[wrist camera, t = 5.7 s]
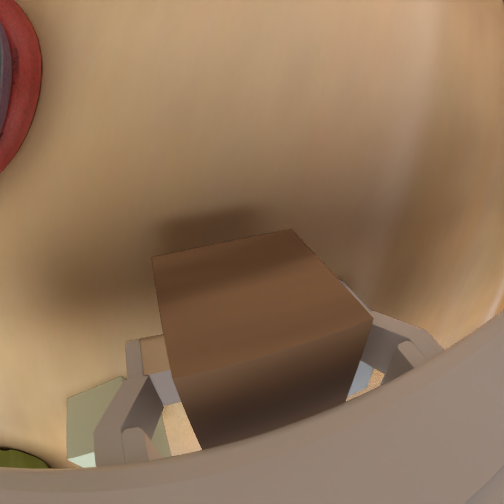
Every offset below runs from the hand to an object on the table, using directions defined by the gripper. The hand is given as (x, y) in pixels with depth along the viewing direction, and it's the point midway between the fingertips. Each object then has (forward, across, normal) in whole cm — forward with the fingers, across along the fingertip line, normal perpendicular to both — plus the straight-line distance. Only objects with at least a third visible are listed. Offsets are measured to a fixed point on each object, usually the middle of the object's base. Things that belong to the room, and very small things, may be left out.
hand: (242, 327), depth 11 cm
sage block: (+6, +8, +11) cm, 15 cm away
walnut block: (+2, 0, 0) cm, 2 cm away
